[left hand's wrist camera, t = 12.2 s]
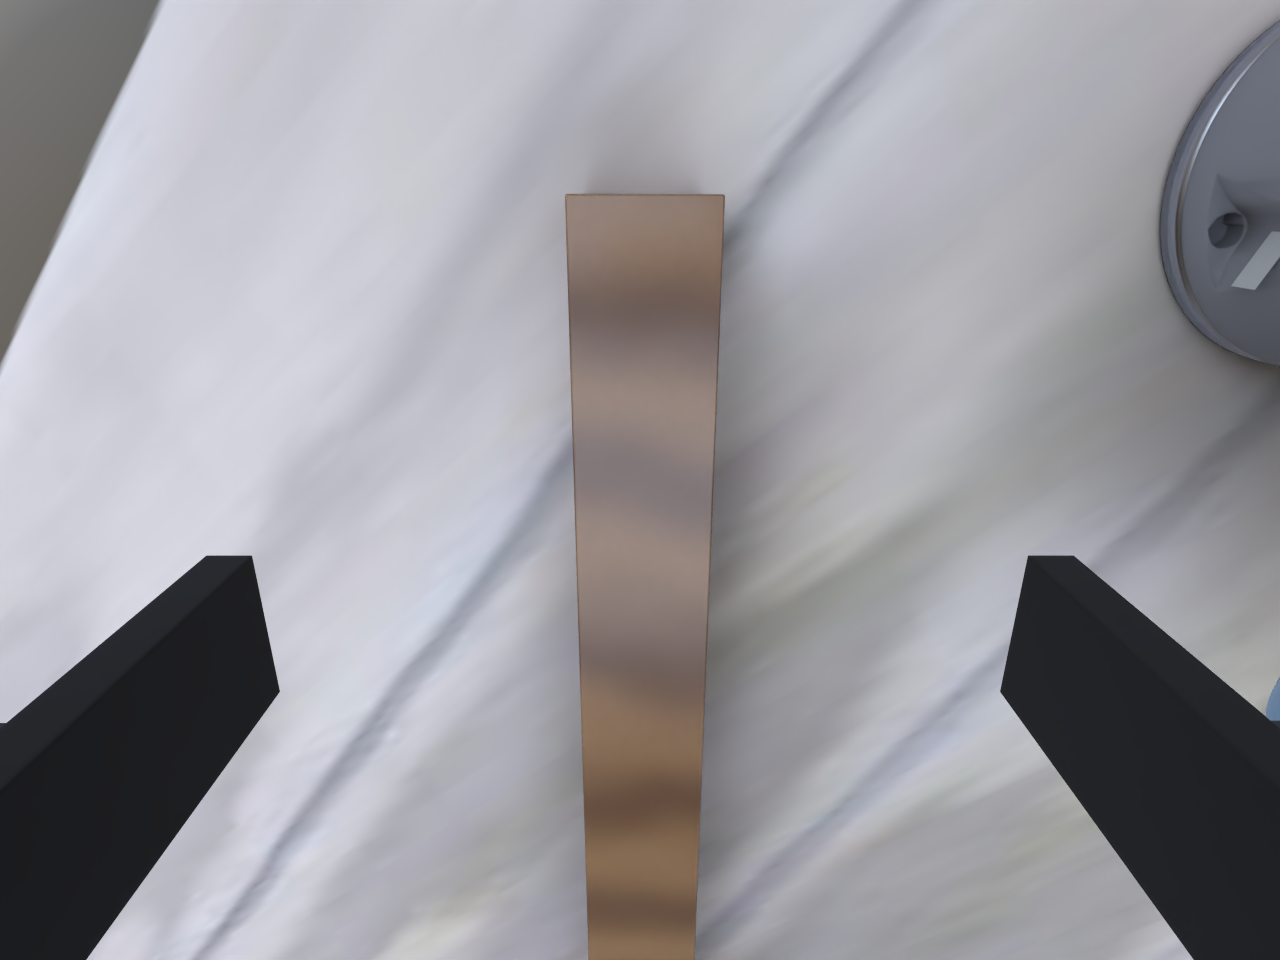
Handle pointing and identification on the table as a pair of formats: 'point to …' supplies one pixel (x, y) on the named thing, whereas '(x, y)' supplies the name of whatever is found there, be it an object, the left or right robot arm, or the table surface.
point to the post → (643, 550)
